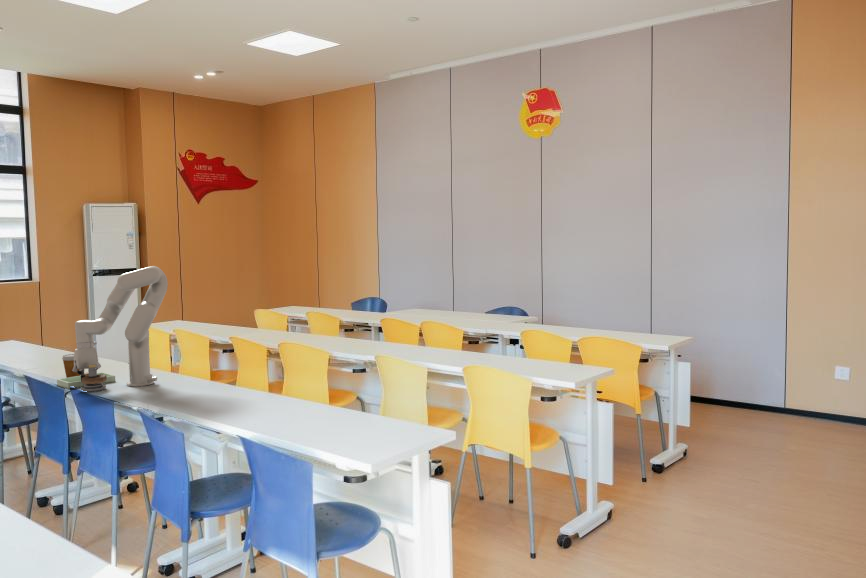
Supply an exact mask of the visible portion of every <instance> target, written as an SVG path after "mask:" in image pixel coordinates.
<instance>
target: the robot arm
mask: <svg viewBox="0 0 866 578" xmlns="http://www.w3.org/2000/svg"><path fill="white" fill-rule="evenodd" d="M147 286H149V287H148V289H147V291H146V292H145V295H144V297H143V299H142V301H141V303H140V304H138V305H137V307H136V308H135V309H134V311H133V313H132V315H131V317H130V320H129V321H128V323H127V325H126V327H125V330H124V337H125V339H126V340H127V342H128V344H127V347H128V348H127V350H128V351H127V352H128V370H129V381H126V386H127V387H144V386H145V387H146V386H149V385H150V386H151V385H153V384H154V383H155V382H157V381H158V376H153V374H152V373H151V365H150V364H151V363H150V359H151V358H150V330H149V329H150V328H151V325H152V323H153V321H154V319H155V318H156V316H157V315H158V311H159V309H160V307H161V306H162V303H163V301H164V298H165V296H166V294H167V291H168V286H169V285H168V278H167V275H166V273H165V272H164V271H163V270H162V268H160V267H158V266H156V265H151V266H147V267H144V268H140V269H136V270H133V271H129V272H125V273H122V274H120V275H119V276H118V278H117V282H116V284H115V286H114V287H113V289H112V291H111V292H110V294H109V295H108V297H107V299H106V305H105V306H104V308H103V310H102V312H101V314H100V315H99V317H98V318H97V319H95V320H90V319H82V320H77V321H75V323H74V329H75V330H74V332H75V343H76V348H75V349H74V352H73V354H74V367H73V370H72V371H74V372H77V373H78V374H79V375H80V376H81V382H82V378H83V377H85V375H84V373H85V370H86V369H88V365H93V364H95V365H96V367H97V370H99V369H100V368H102V365H101V363H100V362H99V358H98V352H97V349H96V345H97V341H95V340H94V336H95V335H96V336H100V335H101V336H102V335H104V334H106V333H107V332H109V331H110V330H111V328H112V326H113V325H114V324H115V322H116V320H117V319H118V317H119V316H120V313H122V311H123V309H124V308H125V306H126V304H128V303H127V302H128V301H129V299H130V297H131V295H132V294H133V292H134V291H135V290H136V289H139V288H140V289H141V288H143V287H147ZM77 369H80V370H77Z"/></svg>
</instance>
